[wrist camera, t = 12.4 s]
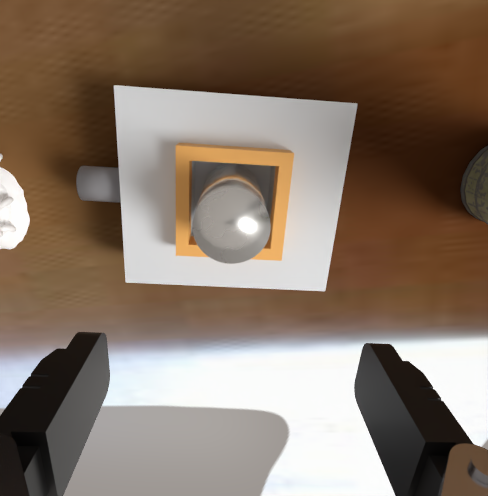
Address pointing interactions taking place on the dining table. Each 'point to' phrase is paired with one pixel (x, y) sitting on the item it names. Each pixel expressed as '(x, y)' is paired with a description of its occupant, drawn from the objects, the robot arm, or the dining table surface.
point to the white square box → (208, 158)
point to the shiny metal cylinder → (231, 215)
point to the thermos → (476, 186)
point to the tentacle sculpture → (11, 211)
